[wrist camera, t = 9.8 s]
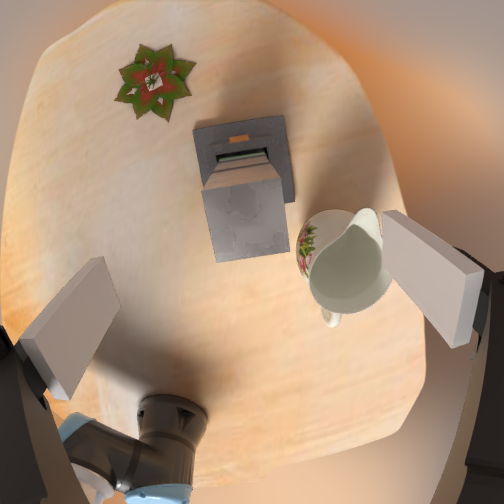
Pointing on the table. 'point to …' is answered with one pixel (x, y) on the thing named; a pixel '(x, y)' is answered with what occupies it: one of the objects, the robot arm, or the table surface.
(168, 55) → the lily flower
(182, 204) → the table surface
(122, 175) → the table surface
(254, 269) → the table surface
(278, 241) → the column
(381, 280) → the pitcher
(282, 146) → the stand
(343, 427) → the table surface
